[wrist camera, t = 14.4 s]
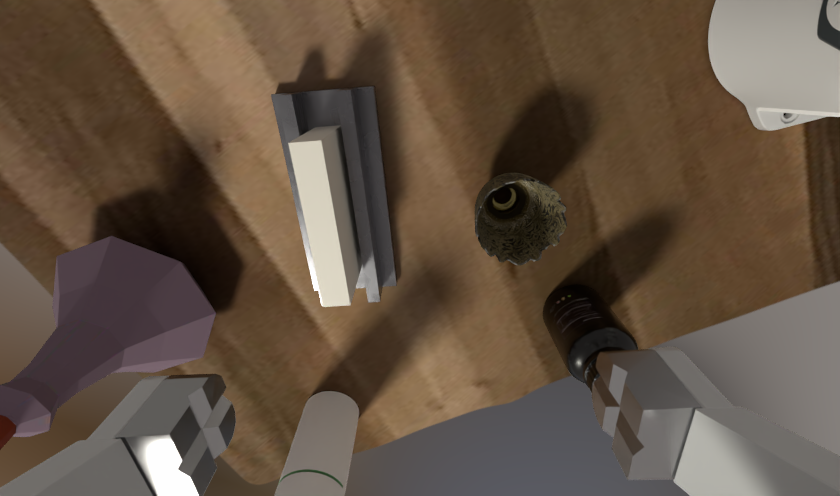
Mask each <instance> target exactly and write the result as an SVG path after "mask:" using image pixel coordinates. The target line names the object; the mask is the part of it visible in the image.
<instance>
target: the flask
mask: <svg viewBox="0 0 840 496" xmlns="http://www.w3.org/2000/svg"><path fill="white" fill-rule="evenodd" d="M53 312H54V317H55V322H56V330H55V331H54V332H53V334H52V335H51V336H50V338H49V339H48V340H47V341H46V343H45V344H44V346H43V347H42V348H41V349H40V351H39V352H38V353H37V355H36V356H35V357H34V359H33V360H32V361H31V363H30V364H29V365H28V366H27V367H26V368H25V369H24V370H22V371H21V372H20V373H19V374H18V375H17V376H16V377H15V378H14V379H13V380H11V381H10V382H8V383H5V384H2V385H0V449H1V448H2V447H3V446H4V445H5V444H6V443H7V442H8V441H9V439H10V438H11V437H12V436H15V437H29V436H33V435H36V434H40V433H43V432H46V431H49V430H50V427H51V424H52V421H53V419H54V416H55V413H56V411H57V408H59V407H60V406H61V405H62V404H64V403H65V402H66V401H67V400H69V399H70V398H71V397H72V396H74V395H75V394H76V393H78V392H79V391H81V390H83V389H84V388H86V387H88V386H90V385H91V384H93V383H95V382H97V381H98V380H100V379H102V378H104V377H105V376H107V375H109V374H111V373H116V372H157V371H160V370H163V369H167V368H170V367H173V366H176V365H180V364H183V363H186V362H189V361H192V360H196V359H199V358H202V357H203V355H204V352H205V349H206V345H207V342H208V338H209V335H210V332H211V328H212V325H213V322H214V318H215V315H216V312H215V311H214V309H213V307H212V306H211V304H210V302H209V301H208V299H207V297H206V296H205V294H204V292H203V290H202V289H201V288H200V286H199V285H198V283H197V282H196V280H195V279H194V277H193V276H192V274H191V273H190V272H189V270H188V269H187V267H186V266H185V264H184V263H182V262H180V261H177V260H175V259H172V258H169V257H167V256H164V255H161V254H159V253H156V252H153V251H151V250H148V249H145V248H143V247H140V246H137V245H135V244H132V243H129V242H127V241H124V240H121V239H119V238H116V237H113V236H110V237H107V238H104V239H102V240H99V241H97V242H94V243H91V244H89V245H86V246H83V247H81V248H78V249H75V250H73V251H70V252H67V253H65V254H62V255H59V256H57V261H56V273H55V284H54V296H53Z"/></svg>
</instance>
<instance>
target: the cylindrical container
mask: <svg viewBox="0 0 840 496" xmlns="http://www.w3.org/2000/svg"><path fill="white" fill-rule="evenodd" d="M358 418H359V408H358V406H357V404H356V403H355V401H354V400H353V399H352V398H350V397H349V396H347V395H345V394H343V393H340V392H335V391H324V392H320V393H317V394H315V395H313V396H312V397H310V398H309V399H308V401H307V402H306V405H305V408H304V411H303V414H302V417H301V420H300V422H299V425H298V428H297V431H296V434H295V437H294V440H293V443H292V446H291V449H290V452H289V455H288V458H287V460H286V463H285V466H284V469H283V472H282V475H281V478H280V481H279V484H278V487H277V490H276V493H275V496H345V490H346V485H347V479H348V474H349V468H350V463H351V457H352V451H353V446H354V440H355V434H356V429H357V423H358Z"/></svg>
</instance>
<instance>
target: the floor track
mask: <svg viewBox="0 0 840 496" xmlns="http://www.w3.org/2000/svg"><path fill="white" fill-rule="evenodd" d="M271 96H272V101H273V106H274V110H275V115H276V119H277V124H278V128H279V133H280V137H281V142H282V147H283V151H284V156H285V160H286V165H287V169H288V174H289V178H290V183H291V187H292V192H293V197H294V201H295V206H296V210H297V215H298V219H299V224H300V228H301V233H302V237H303V242H304V247H305V251H306V256H307V260H308V265H309V269H310V274H311V278H312V283H313V288H314V291H319V296H320V301H321V305H323V304H322V299H321V295H320V290H319V285H318V281H317V276H316V271H315V267H314V262H313V257H312V252H311V248H310V243H309V238H308V234H307V229H306V224H305V220H304V215H303V210H302V205H301V201H300V196H299V191H298V187H297V182H296V177H295V173H294V168H293V163H292V159H291V154H290V149H289V144H288V143H289V142H291V141H292V140H294V139H296V138H298V137H299V136H301V135H303V134H305V133H306V132H308V131H310V130H312V129H313V128H315V127H325V126H338V125H341V128H342V135H343V141H344V148H345V154H346V161H347V167H348V174H349V180H350V187H351V193H352V200H353V206H354V213H355V219H356V226H357V232H358V239H359V245H360V252H361V258H362V268H361V271H360V275H359V278H358V281H357V285H356V288H366V291H367V297H368V302H380V299H381V293H382V288H383V287H384V286H396V285H397V277H396V268H395V259H394V251H393V242H392V233H391V225H390V216H389V207H388V198H387V190H386V181H385V172H384V163H383V155H382V146H381V137H380V129H379V120H378V111H377V102H376V94H375V86H366V87H353V88H341V89H329V90H317V91H304V92H292V93H280V94H272V95H271Z"/></svg>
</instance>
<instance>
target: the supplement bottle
mask: <svg viewBox="0 0 840 496" xmlns="http://www.w3.org/2000/svg"><path fill="white" fill-rule="evenodd" d="M543 319H544V322H545V325H546V327H547V329H548V331H549V333H550V335H551V337H552V339H553V341H554V343H555V345H556V347H557V349H558V351H559V353H560V355H561V357H562V359H563V361H564V363H565V365H566V367H567V369H568V371H569V372H570V374H571V375H572V376H573V377H574V378H576V379H577V380H579V381H581V382H583V383H585V384H586V385H587V386H588V387H589V388H590V390H591V392H592V390H593V383H594V382H595V381H596V380H597V379H598V378H599V377H600V376H601V375H600V374H599V372H598V370H597V368H596V361H597V357H598V355H599V353H600V352H608V351H624V350H638V345H637V342H636V340H635V339H634V337H633V336H632V334H631V333H630V332H629V331H628V329H627V328H626V327H625V326H624V324H623V323H622V322H621V321H620V319H619V318H618V317H617V316H616V314H615V313H614V312H613V311H612V309H611V308H610V307H609V306H608V305H607V303H606V302H605V301H604V300H603V298H602V297H601V296H600V295H599V294H598V293H597V292H596V291H595V290H593V289H592V288H590V287H587V286H583V285H570V286H566V287H563V288H561V289H559V290H557V291H556V292H554V293H553V294H552V295H551V296H550V297H549V298H548V300H547V301H546V303H545V305H544V308H543Z"/></svg>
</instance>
